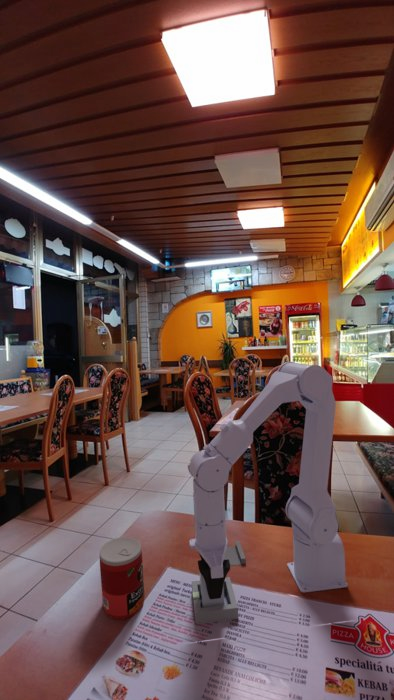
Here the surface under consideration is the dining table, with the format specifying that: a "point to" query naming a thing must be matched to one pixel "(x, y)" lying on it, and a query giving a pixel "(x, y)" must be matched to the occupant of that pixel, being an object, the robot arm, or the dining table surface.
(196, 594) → the port
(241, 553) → the grey ridged plate
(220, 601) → the plug
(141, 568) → the canned food
